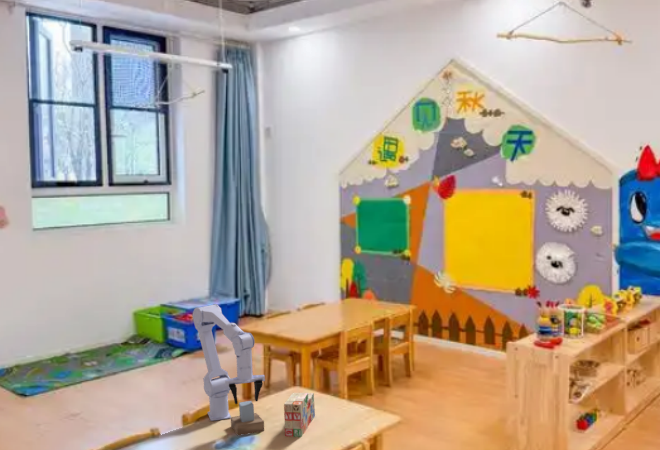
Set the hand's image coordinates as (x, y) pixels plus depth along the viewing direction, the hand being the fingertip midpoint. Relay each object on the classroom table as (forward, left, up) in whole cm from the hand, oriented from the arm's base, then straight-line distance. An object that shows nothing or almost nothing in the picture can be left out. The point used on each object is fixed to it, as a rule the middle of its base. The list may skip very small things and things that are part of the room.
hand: (246, 401), depth 252 cm
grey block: (0, 0, -7) cm, 7 cm away
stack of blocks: (+5, +19, -11) cm, 23 cm away
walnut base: (0, 0, -11) cm, 11 cm away
